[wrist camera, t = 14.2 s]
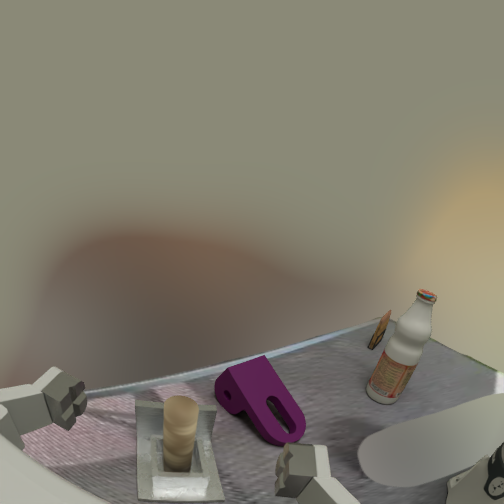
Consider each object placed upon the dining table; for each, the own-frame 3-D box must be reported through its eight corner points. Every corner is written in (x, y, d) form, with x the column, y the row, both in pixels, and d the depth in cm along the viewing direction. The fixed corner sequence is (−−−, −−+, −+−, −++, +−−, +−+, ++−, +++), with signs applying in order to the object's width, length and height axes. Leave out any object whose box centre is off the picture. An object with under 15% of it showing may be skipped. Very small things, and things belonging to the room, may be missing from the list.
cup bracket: (208, 438, 41) (215, 405, 39) (224, 501, 28) (234, 475, 26) (137, 434, 37) (135, 400, 35) (138, 500, 25) (133, 474, 23)
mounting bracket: (288, 440, 50) (244, 373, 59) (313, 428, 45) (264, 354, 55) (255, 461, 43) (209, 385, 52) (280, 451, 39) (227, 367, 48)
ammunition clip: (377, 338, 92) (389, 307, 89) (381, 340, 91) (393, 309, 88) (367, 347, 84) (380, 315, 81) (372, 350, 83) (386, 317, 80)
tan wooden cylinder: (188, 458, 34) (196, 396, 31) (192, 479, 31) (201, 420, 27) (162, 458, 33) (163, 394, 29) (164, 478, 29) (164, 419, 26)
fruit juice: (367, 402, 57) (416, 295, 50) (363, 380, 66) (404, 282, 59) (400, 407, 55) (452, 304, 48) (393, 385, 64) (437, 291, 57)
